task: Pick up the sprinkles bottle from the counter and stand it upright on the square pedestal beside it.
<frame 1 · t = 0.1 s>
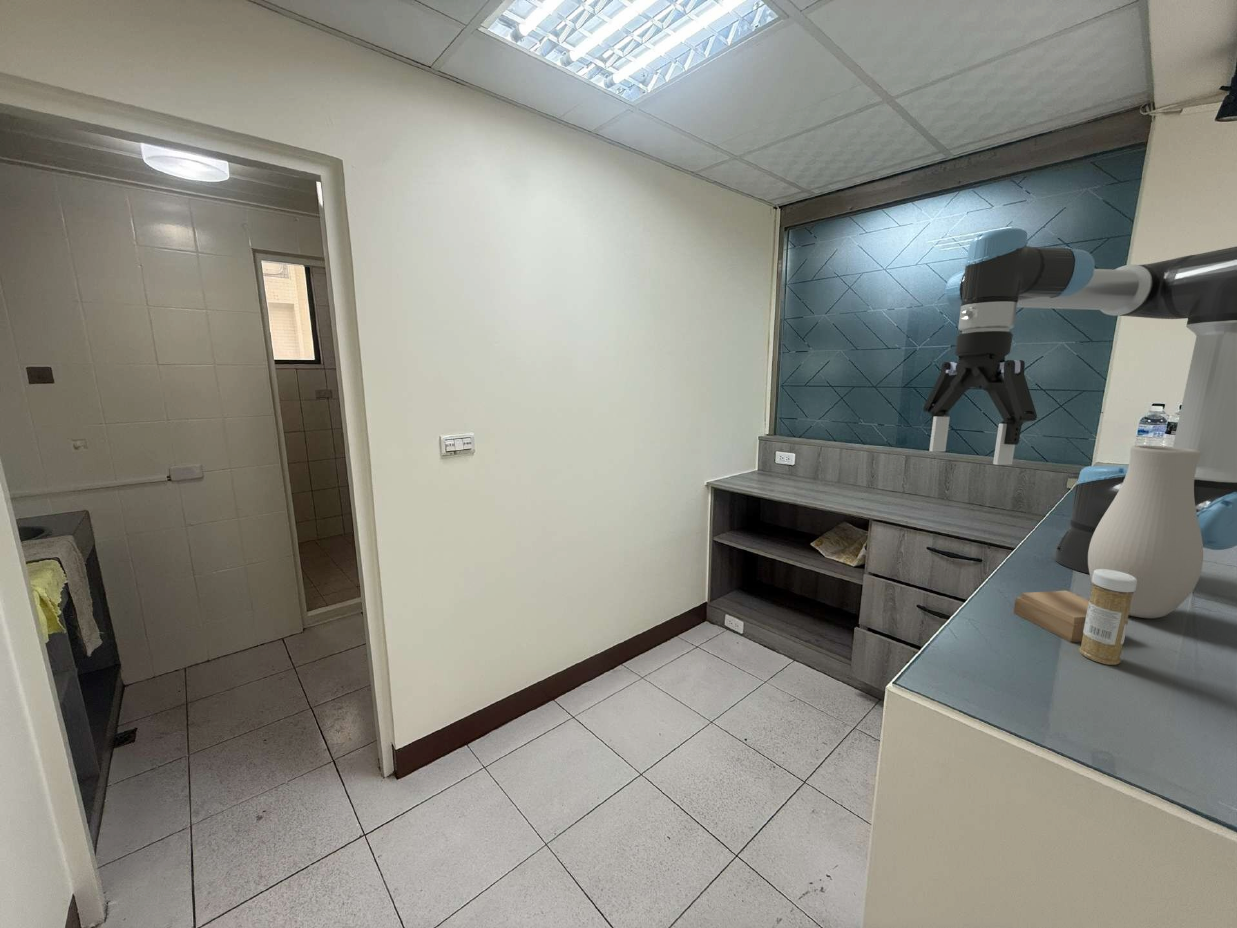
hand: (967, 457, 85), 28 cm above the worktop, tool pointing down, fingers open, 13 cm apart
pedestal: (1066, 624, 84), on the worktop
sprinkles bottle: (1098, 658, 74), on the worktop
vase: (1130, 612, 89), on the worktop
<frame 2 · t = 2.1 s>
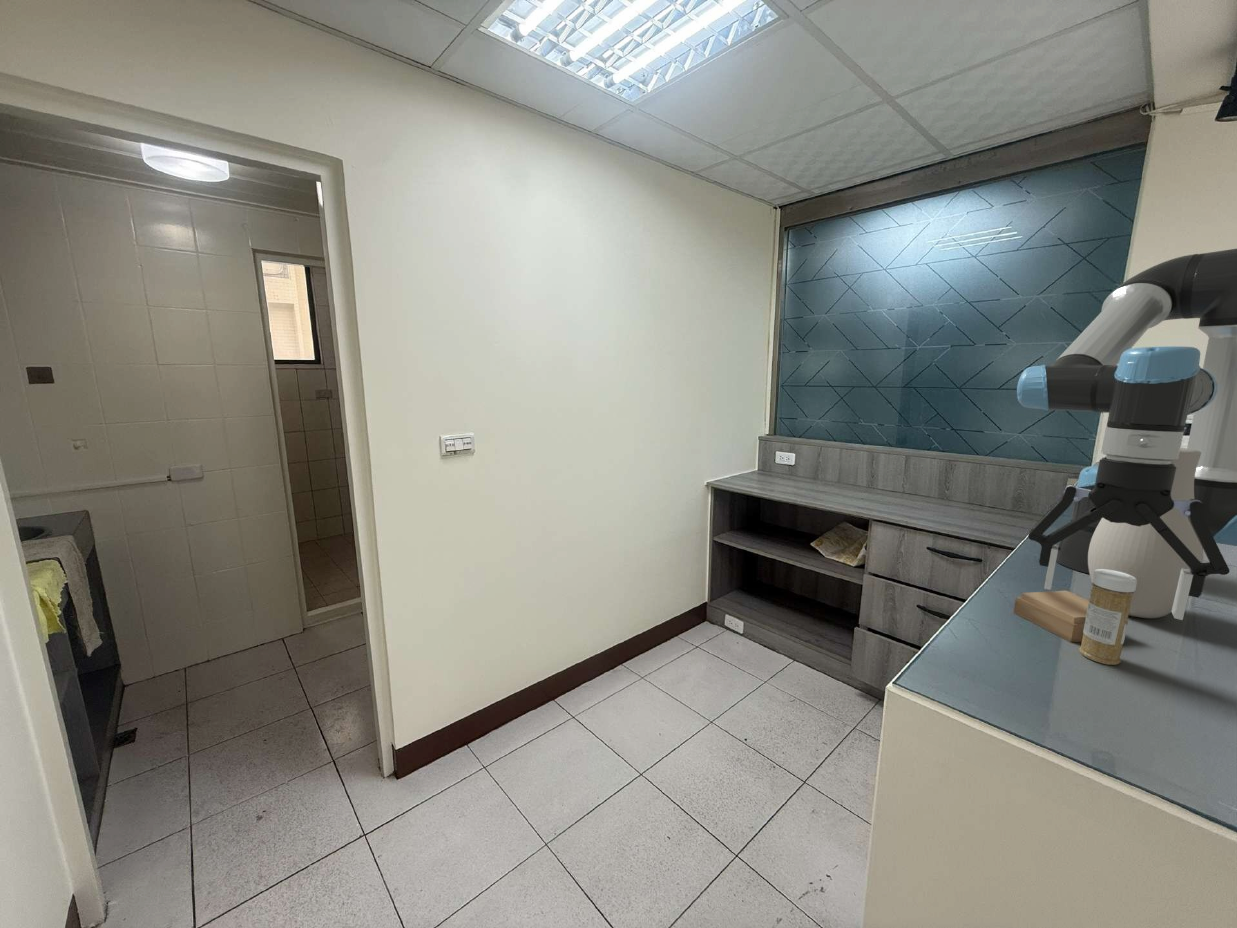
hand: (1108, 600, 72), 9 cm above the worktop, tool pointing down, fingers open, 13 cm apart
nothing on the worktop moved.
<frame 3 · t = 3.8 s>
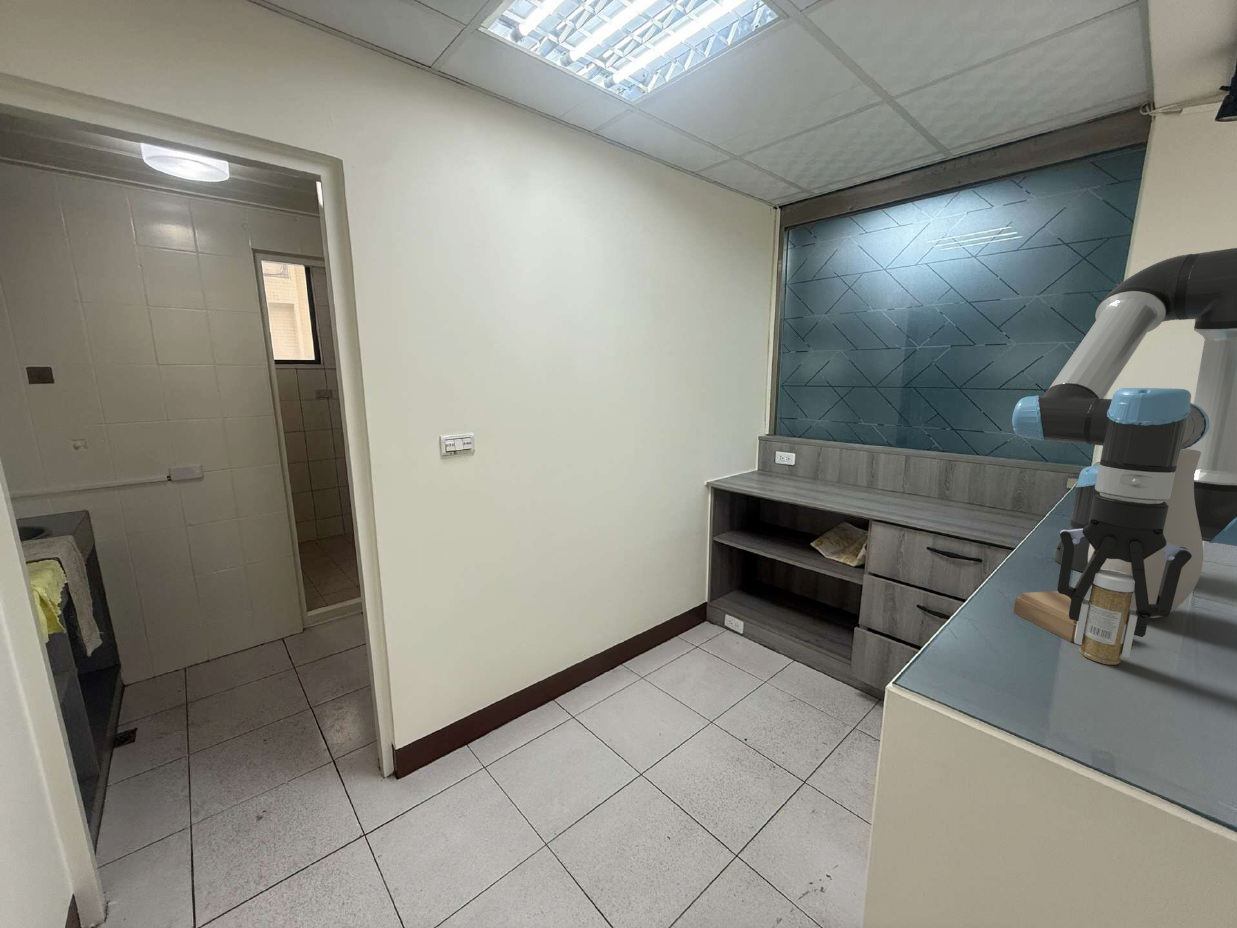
hand: (1100, 646, 74), 2 cm above the worktop, tool pointing down, fingers closed on sprinkles bottle, 4 cm apart
sprinkles bottle: (1098, 658, 74), on the worktop, touching gripper
everything else where it was.
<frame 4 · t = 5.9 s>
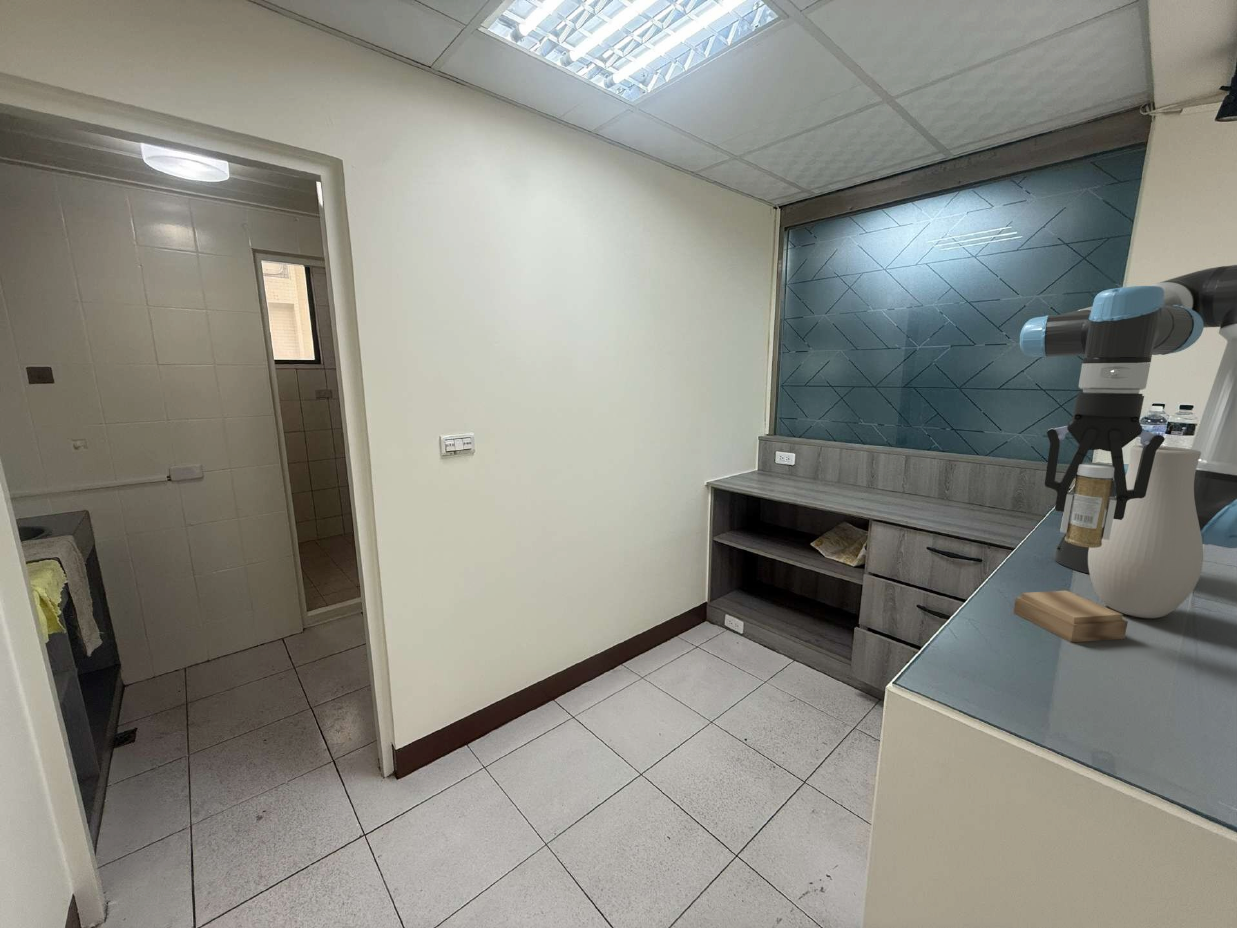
hand: (1083, 533, 81), 16 cm above the worktop, tool pointing down, fingers closed on sprinkles bottle, 4 cm apart
sprinkles bottle: (1081, 545, 81), point 14 cm above the worktop, touching gripper
everything else where it was.
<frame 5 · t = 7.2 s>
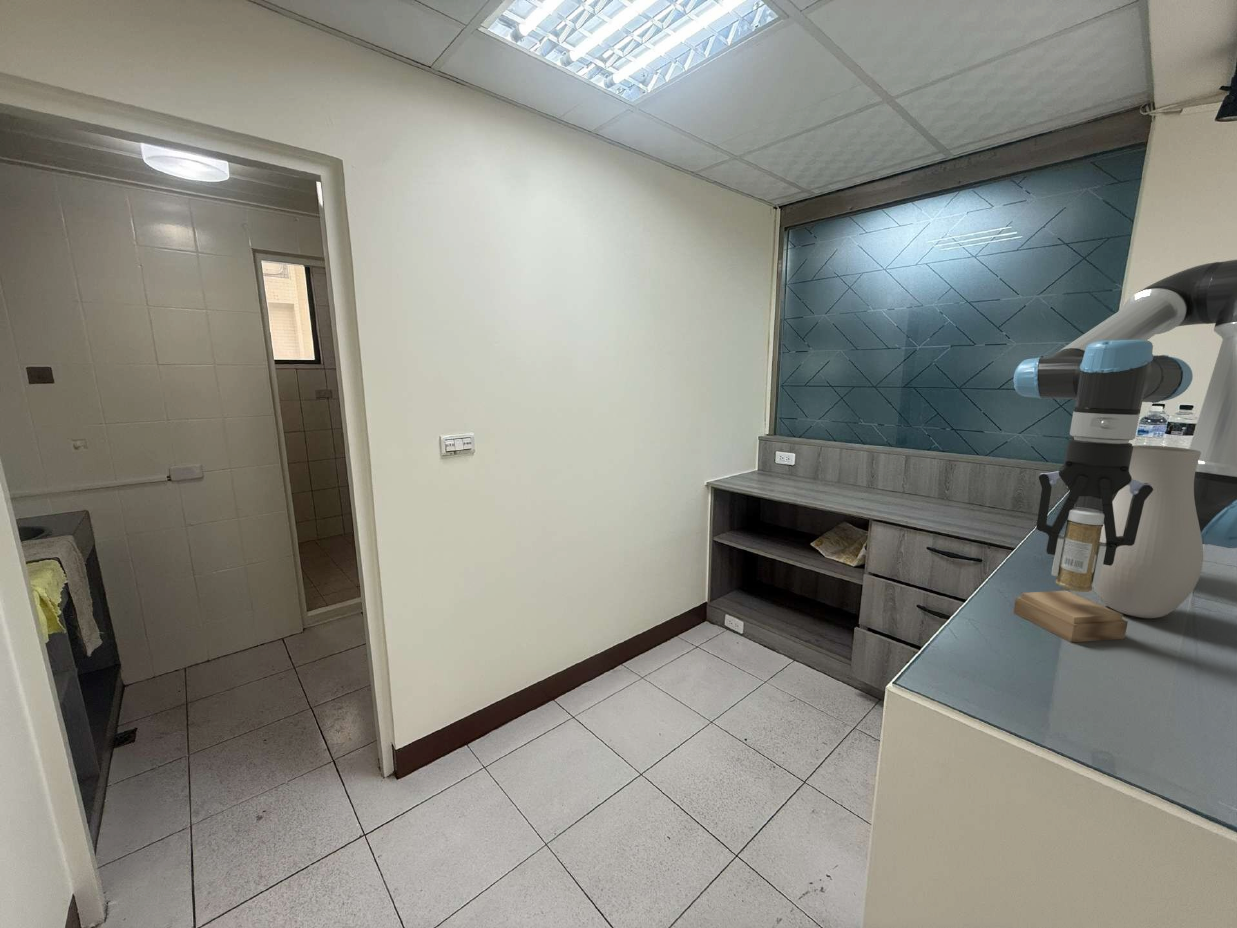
hand: (1074, 577, 82), 9 cm above the worktop, tool pointing down, fingers closed on sprinkles bottle, 4 cm apart
sprinkles bottle: (1072, 588, 82), point 7 cm above the worktop, touching gripper
everything else where it was.
when the fingers open (7 cm above the worktop, at t = 8.2 s): sprinkles bottle drops 1 cm, resting on pedestal.
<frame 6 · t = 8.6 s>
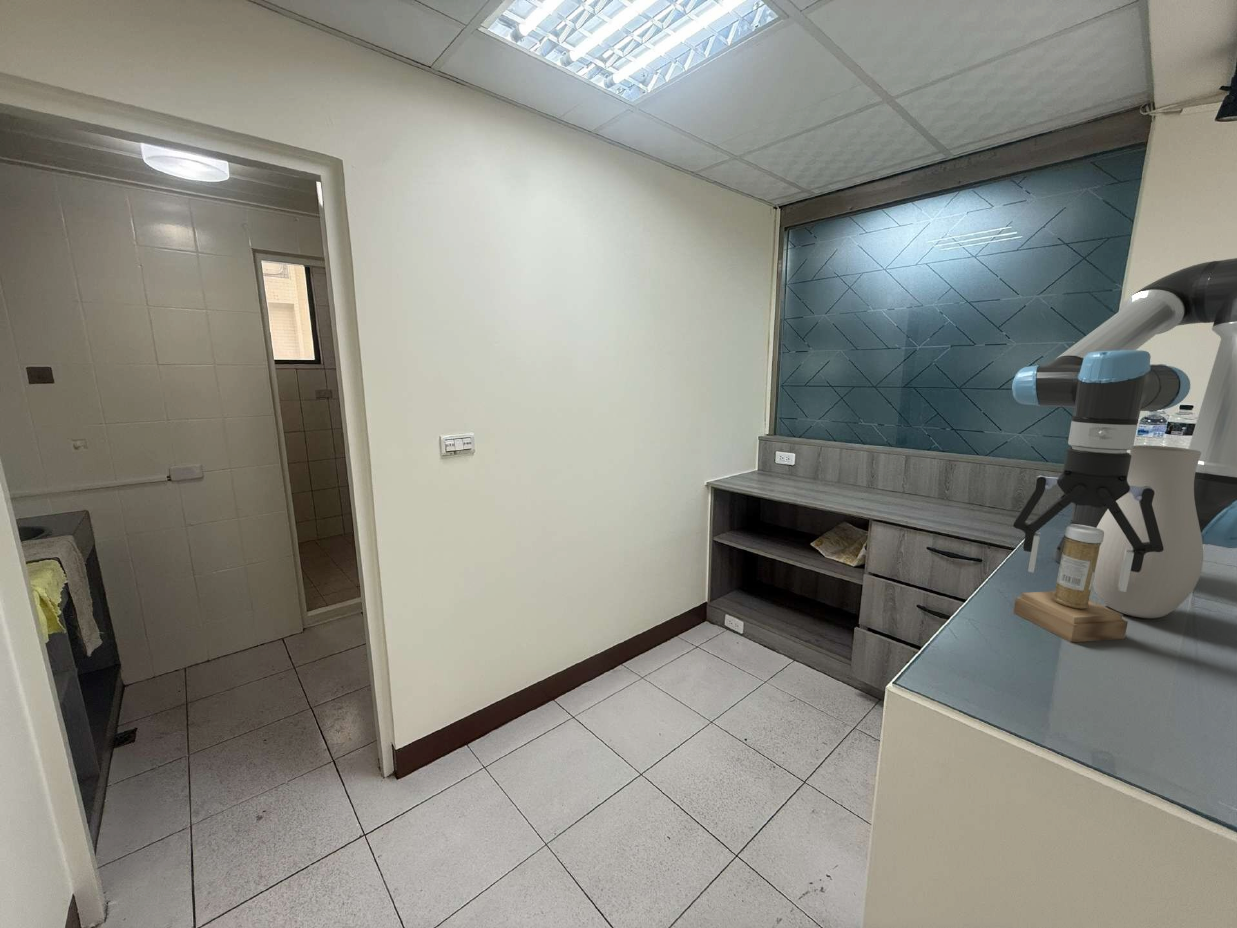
hand: (1074, 578, 82), 8 cm above the worktop, tool pointing down, fingers open, 10 cm apart
sprinkles bottle: (1069, 604, 83), point 4 cm above the worktop, touching pedestal
everything else where it was.
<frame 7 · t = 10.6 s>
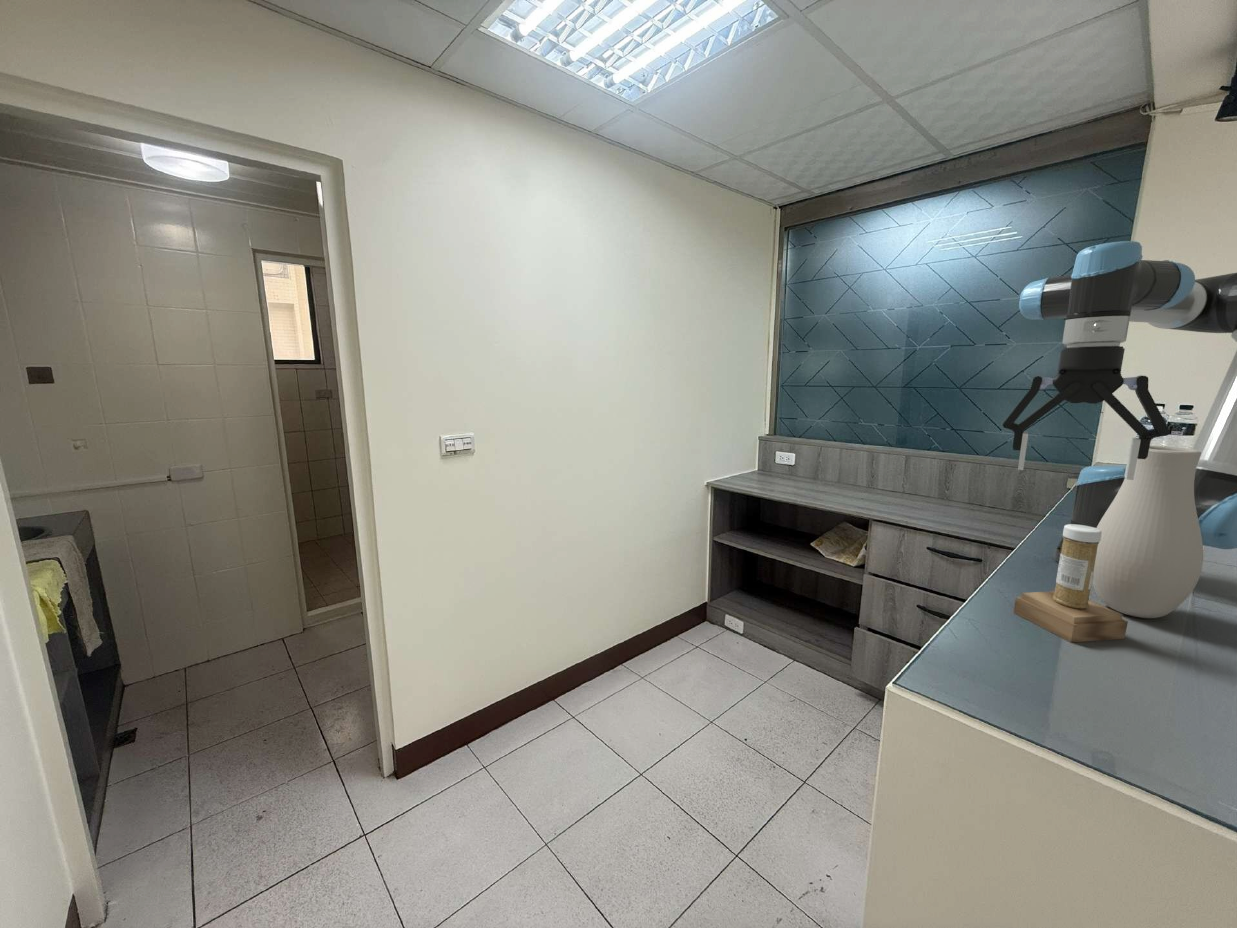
hand: (1071, 473, 83), 26 cm above the worktop, tool pointing down, fingers open, 13 cm apart
nothing on the worktop moved.
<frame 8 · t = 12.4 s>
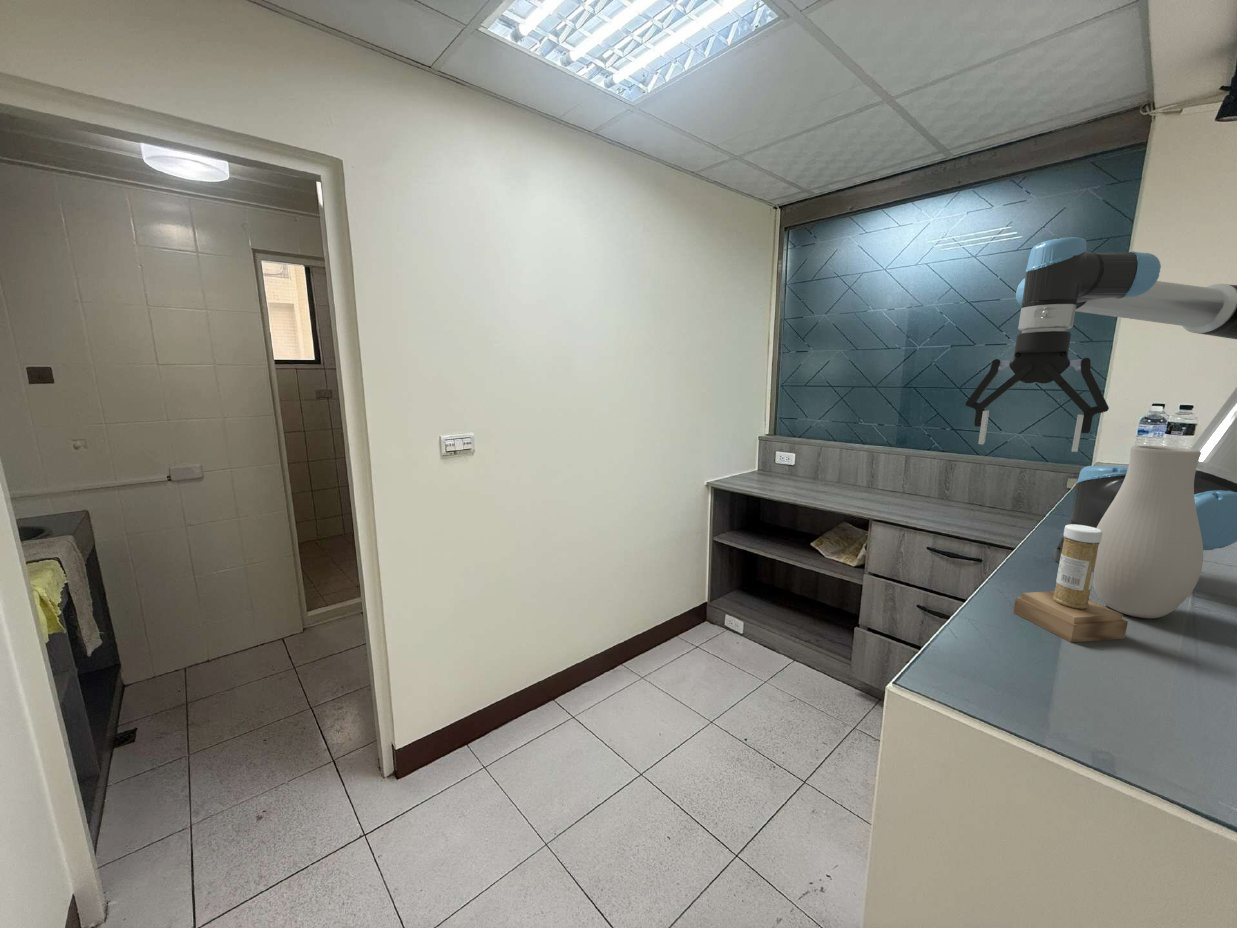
hand: (1025, 447, 92), 29 cm above the worktop, tool pointing down, fingers open, 13 cm apart
nothing on the worktop moved.
at the end: sprinkles bottle inside the target area on the pedestal (0.2 cm from its centre), point 3.8 cm above the pedestal's base; sprinkles bottle tilted 0°; the gripper is holding nothing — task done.
